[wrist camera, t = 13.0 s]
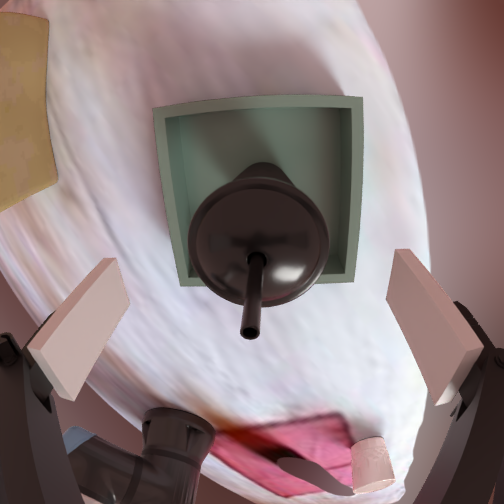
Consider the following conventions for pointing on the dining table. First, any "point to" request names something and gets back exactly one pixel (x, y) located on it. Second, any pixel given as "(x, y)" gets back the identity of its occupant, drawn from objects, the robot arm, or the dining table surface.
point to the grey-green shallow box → (265, 150)
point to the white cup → (371, 466)
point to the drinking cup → (258, 242)
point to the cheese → (23, 109)
